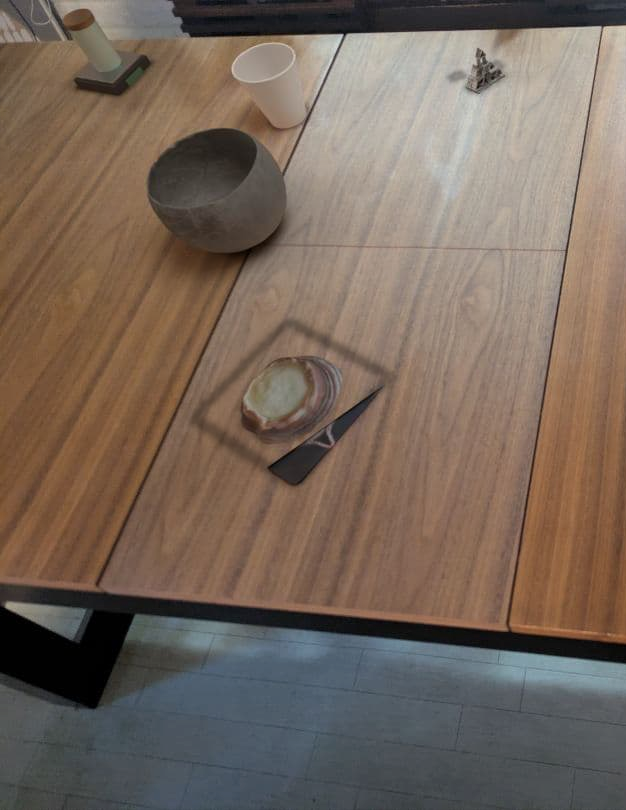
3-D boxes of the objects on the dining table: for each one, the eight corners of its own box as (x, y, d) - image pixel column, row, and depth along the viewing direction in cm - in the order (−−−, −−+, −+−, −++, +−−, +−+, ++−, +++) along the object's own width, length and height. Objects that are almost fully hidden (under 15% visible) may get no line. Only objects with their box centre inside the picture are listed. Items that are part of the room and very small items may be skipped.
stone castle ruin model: (483, 59, 143) (477, 22, 136) (512, 76, 139) (507, 39, 132) (450, 81, 140) (442, 45, 133) (478, 99, 136) (471, 62, 130)
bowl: (249, 175, 131) (209, 105, 118) (326, 215, 123) (293, 144, 111) (163, 247, 123) (110, 180, 110) (240, 294, 116) (193, 228, 103)
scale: (123, 99, 147) (113, 84, 144) (81, 91, 150) (71, 77, 147) (154, 67, 152) (145, 52, 149) (113, 60, 155) (103, 46, 152)
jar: (100, 76, 146) (67, 28, 137) (90, 65, 149) (57, 17, 140) (126, 63, 148) (95, 15, 139) (116, 52, 150) (85, 4, 142)
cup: (302, 144, 134) (274, 85, 123) (249, 135, 137) (218, 77, 126) (330, 104, 140) (306, 45, 129) (279, 97, 142) (251, 38, 132)
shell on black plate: (390, 379, 104) (382, 364, 101) (296, 488, 96) (285, 475, 93) (290, 324, 111) (280, 308, 108) (196, 421, 104) (181, 407, 100)
